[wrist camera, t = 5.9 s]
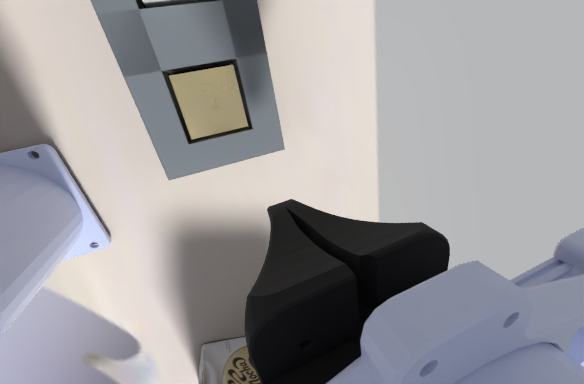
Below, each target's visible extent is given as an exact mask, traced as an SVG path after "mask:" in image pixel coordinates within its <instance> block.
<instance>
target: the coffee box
mask: <svg viewBox="0 0 584 384" xmlns="http://www.w3.org/2000/svg"><path fill="white" fill-rule="evenodd" d="M198 381H199V384H261V382H260V380H259V378H258V376H257V373H256V371H255V369H254V367H253V365H252V363H251V360H250V357H249V353H248V348H247V343H246V338H245V337H240V338H235V339H229V340H224V341H219V342H213V343H208V344H203V345H202V349H201V358H200V367H199V378H198Z"/></svg>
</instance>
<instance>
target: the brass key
mask: <svg viewBox="0 0 584 384" xmlns="http://www.w3.org/2000/svg"><path fill="white" fill-rule="evenodd" d="M169 78H170V80H171V83H172V86H173V89H174V92H175V94H176V97H177V100H178V103H179V106H180V108H181V111H182V114H183V117H184V119H185V122H186V125H187V128H188V131H189V133H190V136H191V139H196V138H200V137H205V136H209V135H213V134H217V133H222V132H226V131H230V130H234V129H238V128H243V127H247V126H248V123H247V119H246V115H245V111H244V107H243V103H242V99H241V95H240V90H239V86H238V82H237V78H236V74H235V70H234V66H233V65H228V66H222V67H216V68H211V69H205V70H199V71H193V72H187V73H182V74H176V75H170V76H169Z"/></svg>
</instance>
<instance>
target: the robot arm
mask: <svg viewBox="0 0 584 384" xmlns="http://www.w3.org/2000/svg"><path fill="white" fill-rule="evenodd" d="M32 151H35V152H37V153H38V154H39V158H36V157H34V156H33V155H32V153H31V152H32ZM267 211H268V214H269V218H270V222H271V232H270V242H269V247H268V252H267V255H266V259H265V262H264V265H263V267H262V270H261V272H260V274H259V277H258V279H257V281H256V283H255V284H254V286H253V288H252V290H251V291H250V293H249V295H248V296H247V302H246V311H245V338H246V343H247V348H248V353H249V357H250V360H251V363H252V365H253V367H254V369H255V371H256V373H257V376H258V378H259V380H260V382H261V384H584V228H583V229H580V230H578V231H576V232H574V233H572V234H570V235H568V236H566V237H564V238H563V239H561V240H560V242H559V243H558V244H557V246H556V248H555V251H554V254H553V255H554V257H552V258H551V259H549V260H547V261H545V262H543V263H541V264H539V265H538V266H536V267H534V268H532V269H530V270H528V271H526V272H525V273H523V274H521V275H519V276H517V277H515V278H513V279H512V280H510V281H509V280H508V279H506V278H504V277H503V276H501V275H500V274H498V273H496V272H495V271H493V270H492V269H490V268H488V267H487V266H485V265H483V264H482V263H480V262H479V261H471V262H467V263H463V264H459V265H457V266H455V267H453V268H451V269H449V270H447V269H448V262H449V255H450V253H449V252H450V247H449V243H448V241H447V239H446V238H445V237H444V236H443V235H442V234H440V233H439V232H437V231H436V230H434V229H432V228H431V227H429V226H427V225H426V224H424V223H422V222H420V223H378V222H367V221H359V220H353V219H348V218H344V217H339V216H335V215H332V214H329V213H325V212H323V211H320V210H317V209H314V208H312V207H309V206H307V205H305V204H302V203H300V202H298V201H295V200H293V199H290V200H288V201H285V202H282V203H279V204H276V205H273V206H270V207H268V209H267ZM92 242H96V243H98V245H93V244H92ZM110 243H111V238H110V236H109V235H108V233H107V232H106V230H105V228H104V227H103V225H102V224H101V222H100V220H99V219H98V217H97V216H96V214H95V212H94V211H93V209H92V208H91V206H90V204H89V203H88V201H87V200H86V198H85V197H84V195H83V193H82V192H81V190H80V189H79V187H78V185H77V184H76V182H75V181H74V179H73V177H72V176H71V174H70V173H69V171H68V169H67V168H66V166H65V165H64V163H63V161H62V160H61V158H60V157H59V155H58V153H57V152H56V150H55V149H54V148H53V147H52V146H50V145H47V144H39V145H35V146H30V147H25V148H20V149H16V150H11V151H6V152H1V153H0V339H1V338H2V336H3V335H4V334H5V333H6V331H7V330H8V329H9V328H10V326H11V325H12V324H13V322H14V321H15V320H16V319H17V317H18V316H19V315H20V313H21V312H22V311H23V310H24V308H25V307H26V306H27V304H28V303H29V302H30V301H31V300H32V298H33V297H34V296H35V294H36V293H37V292H38V291H39V289H40V288H41V287H42V286H43V284H44V283H45V282H46V281H47V279H48V278H49V277H50V276H51V274H52V273H53V272H54V270H55V269H56V268H57V267H58V265H59V264H60V263H61V262H62V261H65V260H68V259H71V258H75V257H78V256H81V255H84V254H87V253H91V252H94V251H97V250H100V249H103V248H106V247H108V246H109V245H110Z"/></svg>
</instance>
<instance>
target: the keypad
mask: <svg viewBox="0 0 584 384" xmlns="http://www.w3.org/2000/svg"><path fill="white" fill-rule="evenodd" d="M91 2H92V5H93V7H94V9H95V12H96V14H97V16H98V19H99V21H100V23H101V25H102V28H103V30H104V32H105V35H106V37H107V39H108V42H109V44H110V46H111V49H112V51H113V53H114V55H115V58H116V60H117V62H118V65H119V67H120V69H121V72H122V74H123V76H124V78H125V81H126V83H127V85H128V88H129V90H130V92H131V95H132V97H133V99H134V101H135V104H136V106H137V108H138V111H139V113H140V115H141V118H142V120H143V122H144V124H145V127H146V129H147V131H148V134H149V136H150V138H151V141H152V143H153V145H154V147H155V150H156V152H157V154H158V157H159V159H160V161H161V164H162V166H163V168H164V170H165V173H166V175H167V177H168V180H172V179H176V178H180V177H183V176H187V175H191V174H194V173H198V172H202V171H206V170H209V169H213V168H217V167H221V166H224V165H228V164H232V163H235V162H239V161H243V160H247V159H250V158H254V157H258V156H261V155H265V154H269V153H273V152H276V151H280V150H284V149H285V148H284V143H283V137H282V132H281V127H280V121H279V116H278V111H277V105H276V100H275V95H274V89H273V84H272V79H271V73H270V68H269V63H268V57H267V52H266V47H265V41H264V36H263V31H262V25H261V20H260V15H259V9H258V4H257V0H215V1H210V2H201V3H192V4H183V5H174V6H164V7H155V8H146V9H144V7H143V4H142V1H141V0H91ZM227 63H231V65H233V66H234V70H235V74H236V78H237V82H238V86H239V90H240V95H241V99H242V103H243V107H244V111H245V115H246V119H247V123H248V126H247V127H243V128H238V129H234V130H230V131H226V132H222V133H217V134H213V135H209V136H205V137H200V138H196V139H191V136H190V135H189V132H188V129H187V127H186V124H185V121H184V118H183V115H182V113H181V110H180V107H179V104H178V102H177V99H176V96H175V93H174V90H173V88H172V85H171V82H170V79H169V76H168V74H169V73H175V72H181V71H186V70H192V69H198V68H204V67H210V66H216V65H222V64H227Z"/></svg>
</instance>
